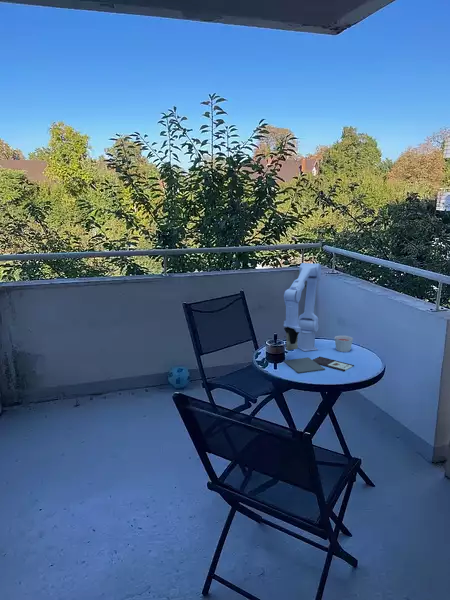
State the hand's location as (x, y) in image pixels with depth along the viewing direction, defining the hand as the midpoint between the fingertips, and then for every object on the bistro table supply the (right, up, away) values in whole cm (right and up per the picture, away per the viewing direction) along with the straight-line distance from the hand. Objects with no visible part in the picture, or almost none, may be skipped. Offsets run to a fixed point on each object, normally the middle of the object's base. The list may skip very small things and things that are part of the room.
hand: (291, 343), depth 196 cm
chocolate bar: (+18, -10, -3) cm, 21 cm away
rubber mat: (+5, -10, -4) cm, 12 cm away
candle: (+29, -5, +16) cm, 34 cm away
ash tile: (0, -3, +1) cm, 3 cm away
